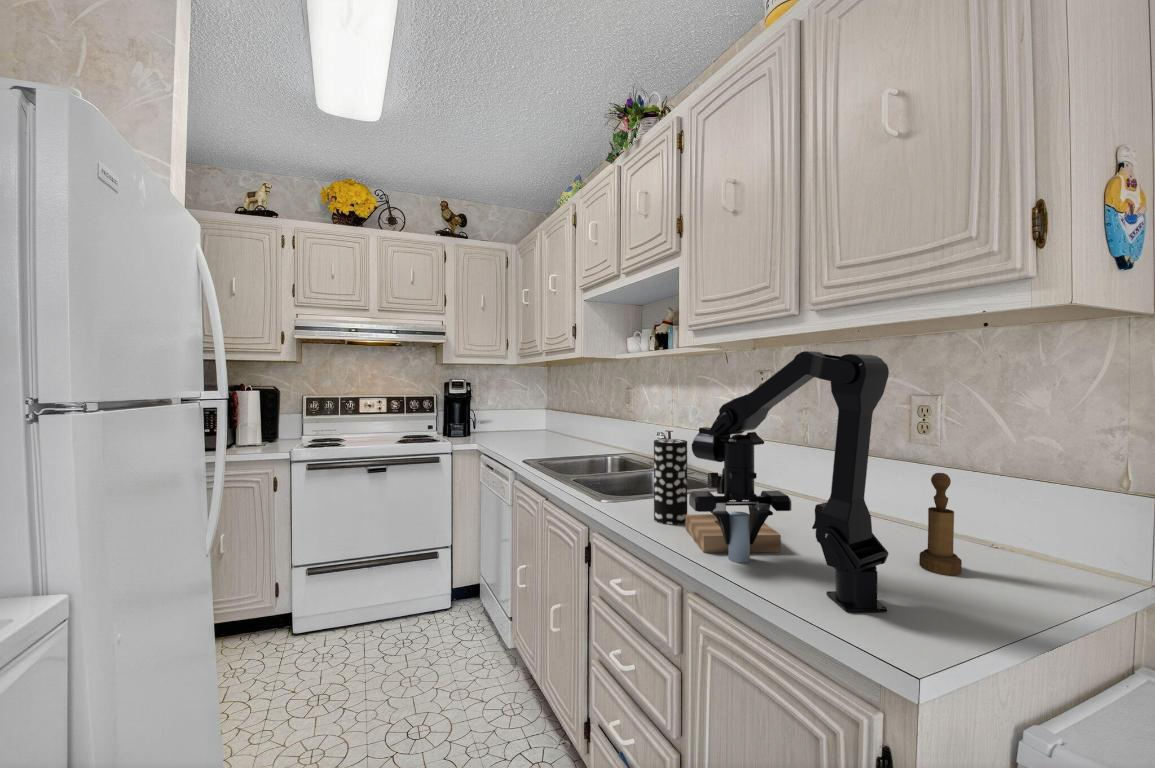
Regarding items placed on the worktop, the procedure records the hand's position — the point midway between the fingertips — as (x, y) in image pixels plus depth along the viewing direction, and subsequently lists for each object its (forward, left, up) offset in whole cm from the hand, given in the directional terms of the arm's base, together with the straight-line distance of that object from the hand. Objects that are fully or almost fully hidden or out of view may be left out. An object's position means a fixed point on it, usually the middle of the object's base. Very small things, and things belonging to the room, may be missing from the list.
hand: (739, 544), depth 101 cm
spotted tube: (+28, +8, -3) cm, 29 cm away
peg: (0, 0, -3) cm, 3 cm away
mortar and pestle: (-6, -36, -3) cm, 37 cm away
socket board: (+12, -2, -3) cm, 13 cm away
